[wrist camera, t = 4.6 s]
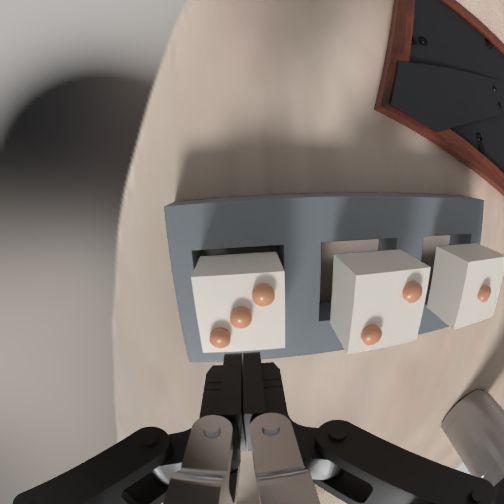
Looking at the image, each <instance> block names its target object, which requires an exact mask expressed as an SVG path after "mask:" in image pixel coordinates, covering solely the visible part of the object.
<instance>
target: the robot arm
mask: <svg viewBox="0 0 504 504" xmlns="http://www.w3.org/2000/svg"><path fill="white" fill-rule="evenodd" d="M441 427H442V429H443V431H444V432H445V434H446V435H447V437H448V438H449V440H450V442H451V443H452V445H453V446H454V448H455V450H456V451H457V453H458V454H459V456H460V457H461V459H462V461H463V462H464V464H465V465H466V467H467V469H468V471H469V472H470V474H471V475H470V474H467V473H464V472H461V471H458V470H455V469H452V468H450V467H447V466H444V465H441V464H439V463H436V462H434V461H431V460H429V459H426V458H424V457H421V456H419V455H416V454H414V453H412V452H409V451H407V450H405V449H403V448H400V447H398V446H396V445H394V444H392V443H389V442H387V441H385V440H383V439H381V438H379V437H377V436H375V435H373V434H371V433H369V432H367V431H365V430H363V429H361V428H359V427H357V426H355V425H353V424H351V423H349V422H347V421H343V420H332V421H329V422H326V423H324V424H323V425H321V426H320V427H319V428H312V427H304V426H301V425H298V424H296V423H295V422H293V421H292V420H291V419H290V418H289V416H288V413H287V407H286V402H285V396H284V391H283V385H282V380H281V374H280V369H279V368H278V367H277V366H276V365H275V364H274V363H273V362H272V363H261V357H260V352H249V353H243V360H242V353H231V354H224V363H223V365H217V366H212V367H211V368H210V370H209V371H208V372H207V374H206V380H205V386H204V393H203V399H202V406H201V412H200V418H199V419H198V420H197V421H196V422H195V423H194V424H193V426H192V428H191V429H189V430H187V431H184V432H180V433H175V434H169V435H168V434H167V433H166V432H165V431H164V430H162V429H160V428H157V427H145V428H142V429H139V430H138V431H136V432H134V433H133V434H131V435H130V436H128V437H126V438H125V439H123V440H122V441H120V442H118V443H117V444H115V445H113V446H112V447H110V448H108V449H107V450H105V451H103V452H101V453H100V454H98V455H96V456H95V457H93V458H91V459H89V460H87V461H86V462H84V463H82V464H80V465H79V466H76V467H75V468H73V469H71V470H69V471H67V472H65V473H63V474H61V475H59V476H57V477H55V478H53V479H51V480H49V481H47V482H45V483H43V484H41V485H38V486H36V487H34V488H32V489H30V490H27V491H25V492H23V493H21V494H19V495H17V496H16V498H15V499H14V501H13V504H161V503H162V502H163V504H236V503H237V493H238V483H239V473H240V451H246V438H247V445H248V451H250V450H252V453H253V461H254V469H255V476H256V482H257V489H258V495H259V502H260V504H320V501H319V498H318V495H317V492H316V489H315V485H314V483H315V484H317V485H318V486H320V487H321V488H323V489H324V490H326V491H327V492H329V493H331V494H332V495H334V496H336V497H337V498H339V499H341V500H342V501H344V502H346V503H348V504H504V410H503V409H502V408H501V406H500V405H499V404H498V403H497V402H496V401H495V400H494V398H493V397H492V396H491V395H490V394H489V393H488V392H487V391H486V390H484V391H481V390H476V391H473V392H471V393H470V394H468V395H467V396H465V397H464V398H463V399H462V400H461V401H459V402H458V403H457V404H456V405H455V406H454V407H453V408H452V409H451V410H450V412H449V413H448V414H447V415H446V417H445V418H444V420H443V422H442V425H441Z"/></svg>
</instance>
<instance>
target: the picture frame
mask: <svg viewBox="0 0 504 504" xmlns="http://www.w3.org/2000/svg"><path fill="white" fill-rule="evenodd" d="M374 110H376V111H378V112H380V113H382V114H384V115H386V116H388V117H390V118H392V119H394V120H396V121H397V122H399V123H401V124H403V125H405V126H406V127H408V128H410V129H412V130H413V131H415V132H417V133H418V134H420V135H422V136H423V137H425V138H427V139H428V140H430V141H431V142H433V143H435V144H436V145H438V146H439V147H441V148H442V149H444V150H445V151H447V152H448V153H450V154H451V155H453V156H454V157H455V158H457V159H458V160H460V161H461V162H462V163H464V164H465V165H467V166H468V167H469V168H471V169H472V170H473V171H475V172H476V173H477V174H478V175H480V176H481V177H482V178H483V179H485V180H486V181H487V182H488V183H490V184H491V185H492V186H493V187H494V188H496V189H497V190H498V191H499V192H500V193H501V194H502V195H504V44H503V43H502V42H501V41H500V40H499V39H498V38H497V37H496V36H495V35H494V34H493V33H492V32H491V31H490V30H489V29H488V28H487V27H486V26H485V25H484V24H483V23H482V22H481V21H479V20H478V19H477V18H476V17H475V16H474V15H473V14H471V13H470V12H469V11H468V10H467V9H465V8H464V7H463V6H462V5H460V4H459V3H458V2H457V1H455V0H394V7H393V14H392V21H391V28H390V34H389V40H388V46H387V51H386V57H385V62H384V67H383V72H382V77H381V82H380V86H379V91H378V95H377V100H376V104H375V108H374Z"/></svg>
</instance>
